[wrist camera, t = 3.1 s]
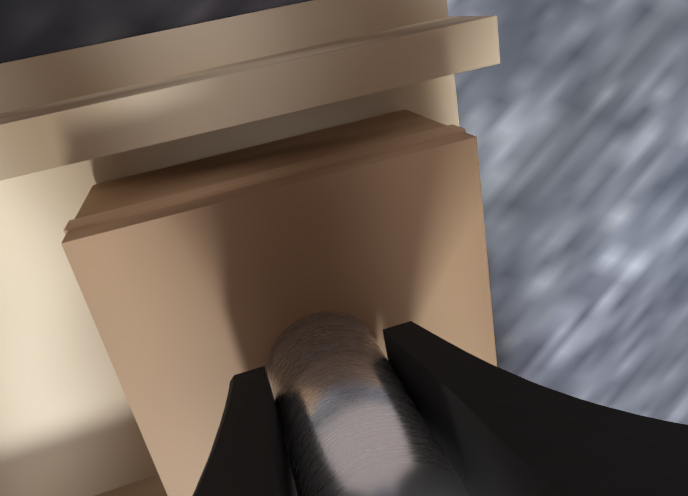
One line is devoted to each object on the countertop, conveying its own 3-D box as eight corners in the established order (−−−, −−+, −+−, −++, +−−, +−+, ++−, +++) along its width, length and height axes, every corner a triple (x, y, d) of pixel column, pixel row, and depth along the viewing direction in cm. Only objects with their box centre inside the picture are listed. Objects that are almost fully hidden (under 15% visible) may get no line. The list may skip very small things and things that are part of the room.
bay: (-124, 599, 17) (-191, 726, 14) (-470, 158, 12) (-707, 208, 9) (475, 397, 21) (527, 464, 18) (428, -23, 15) (493, -35, 12)
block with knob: (188, 442, 17) (194, 796, 9) (90, 183, 14) (-31, 395, 6) (441, 360, 18) (633, 609, 10) (407, 107, 15) (648, 198, 7)
